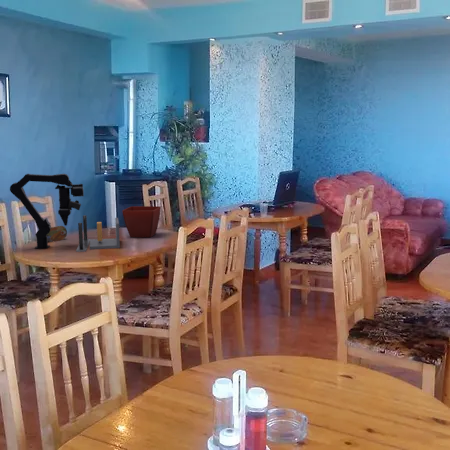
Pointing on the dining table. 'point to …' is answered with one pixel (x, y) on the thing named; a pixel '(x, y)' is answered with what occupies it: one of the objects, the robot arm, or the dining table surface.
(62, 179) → the robot arm
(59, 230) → the tin
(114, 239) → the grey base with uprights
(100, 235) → the lever
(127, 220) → the plant pot
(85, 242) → the stand
